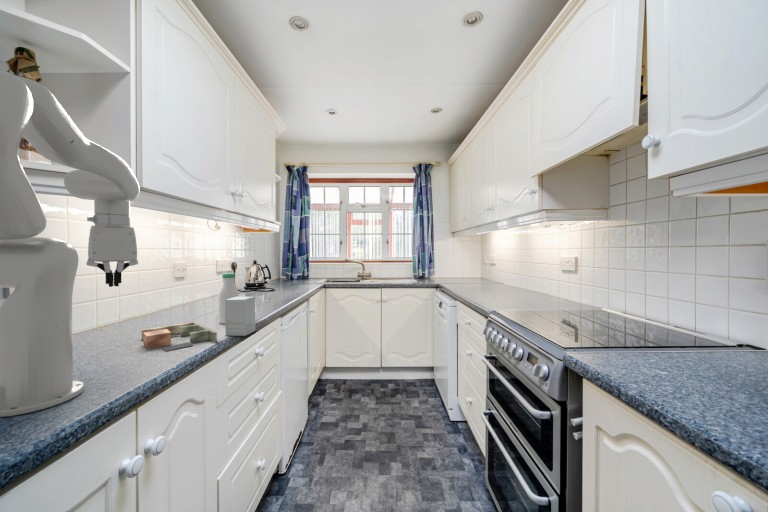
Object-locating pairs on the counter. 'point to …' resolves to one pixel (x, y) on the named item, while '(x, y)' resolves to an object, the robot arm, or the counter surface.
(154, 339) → the block
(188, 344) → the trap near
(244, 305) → the supplement box
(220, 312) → the milk bottle
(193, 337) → the green-grey pronged frame
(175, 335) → the plate
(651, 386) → the counter surface
